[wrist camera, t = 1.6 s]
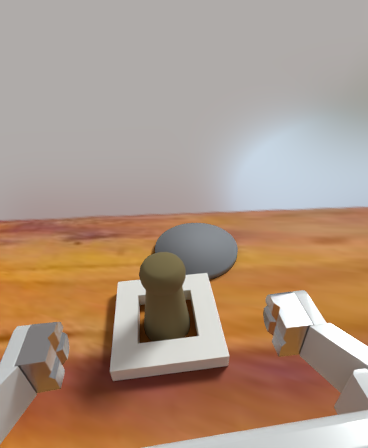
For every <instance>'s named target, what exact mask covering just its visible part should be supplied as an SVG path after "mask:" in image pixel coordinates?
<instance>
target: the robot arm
mask: <svg viewBox="0 0 368 448" xmlns="http://www.w3.org/2000/svg"><path fill="white" fill-rule="evenodd" d="M266 303H267V306H266V307H265V308H264V312H263V316H264V322H265V326H266V328H267V331H268V332H269V333H270V334H272V335H273V339H272V343H273V345H274V347H275V349H276V352H277V354H278V356H279V357H281V356H290V355H298V354H300V356H301V357H302V358H303V359H304V360H305V361H306V362H307V363H308V364H310V365H311V366H312V367H313V368H314V369H315V370H316V371H317V372H318V373H319V374H321V375H322V376H323V377H324V378H325V379H326V380H327V381H328V382H329V383H331V384H332V385H333V386H334V387H335V388H336V389H337V390H338V391H339V392H340V393H341V394H340V396H339V398H338V400H337V402H336V403H335V406H334V408H335V410H336V412H337V414H338V415H334V416H328V417H322V418H316V419H310V420H304V421H298V422H292V423H286V424H280V425H274V426H269V427H263V428H257V429H251V430H245V431H239V432H233V433H227V434H221V435H215V436H209V437H203V438H197V439H191V440H185V441H179V442H173V443H167V444H161V445H155V446H149V447H144V448H368V347H367V346H366V345H364V344H363V343H361V342H360V341H358V340H356V339H355V338H353V337H352V336H350V335H349V334H347V333H345V332H344V331H342V330H341V329H339V328H338V327H336V326H334V325H333V324H331V323H326V321H325V320H324V318H323V317H322V315H321V314H320V312H319V311H318V309H317V308H316V306H315V305H314V303H313V301H312V300H311V298H310V297H309V295H308V294H307V292H306V291H304V290H301V291H294V292H284V293H277V294H270V295H267V297H266ZM62 330H63V326H62V324H61V322H53V323H43V324H34V325H25V326H18V327H17V328H16V329H15V330H14V332H13V334H12V336H11V339H10V341H9V343H8V346H7V348H6V350H5V353H4V355H3V357H2V360H1V362H0V444H1V442H2V441H3V440H4V438H5V437H6V436H7V434H8V433H9V432H10V430H11V429H12V428H13V426H14V425H15V424H16V422H17V421H18V419H19V418H20V417H21V415H22V414H23V413H24V411H25V410H26V409H27V407H28V406H29V405H30V403H31V402H32V401H33V399H34V398H35V396H36V395H37V393H40V392H45V391H51V390H57V389H61V385H62V381H63V377H64V372H65V370H64V368H63V366H62V365H63V364H64V363H65V361H66V360H67V359H68V354H69V341H68V337H67V335H66V334H65V333H63V332H62Z"/></svg>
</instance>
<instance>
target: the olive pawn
mask: <svg viewBox="0 0 368 448" xmlns="http://www.w3.org/2000/svg"><path fill="white" fill-rule="evenodd" d="M139 276H140V281H141V284H142V286H143V287H144V288H145V290H146V296H145V320H144V329H145V333H146V335H147V336H148V338H149V339H150V340H152V341H153V342H154V341H162V340H171V339H179V338H184V337H185V336H186V335H187V334H188V332H189V329H190V318H189V314H188V309H187V305H186V301H185V296H184V292H183V287H182V286H183V283H184V281H185V278H186V269H185V266H184V264H183V262H182V260H181V259H180V258H179V257H178V256H177V255H175V254H173V253H169V252H158V253H154V254H152V255H150V256H148V257H147V258H146V259H145V260H144V262H143V263H142V265H141V267H140V273H139Z"/></svg>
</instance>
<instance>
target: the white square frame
mask: <svg viewBox="0 0 368 448" xmlns="http://www.w3.org/2000/svg"><path fill="white" fill-rule="evenodd" d="M182 287H183V292H184V296H185V300H190V299H191V304H192V310H193V315H194V321H195V326H196V332H197V336H195V337H187V338H179V339H171V340H162V341H154V342H146V343H140V305H145V296H146V290H145V288H144V287H143V286H142V284H141V281H140V280H133V281H123V282H118V289H117V299H116V310H115V321H114V331H113V342H112V353H111V364H110V374H111V377H112V380H113V381H118V380H125V379H133V378H140V377H148V376H155V375H163V374H171V373H178V372H186V371H193V370H201V369H208V368H216V367H223V366H228V363H229V353H228V349H227V345H226V342H225V338H224V334H223V330H222V326H221V323H220V319H219V315H218V311H217V308H216V304H215V300H214V296H213V292H212V289H211V285H210V281H209V277H208V274H207V273H201V274H191V275H186V278H185V281H184V283H183V286H182Z"/></svg>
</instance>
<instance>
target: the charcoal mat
mask: <svg viewBox="0 0 368 448" xmlns="http://www.w3.org/2000/svg"><path fill="white" fill-rule="evenodd" d="M237 250H238V249H237V244H236V242H235V240H234V238H233V237H232V236H231V235H230V234H229V233H228V232H226V231H225V230H223V229H221V228H219V227H217V226H214V225H210V224H204V223H188V224H182V225H178V226H175V227H173V228H171V229H169V230H167V231H166V232H164V233H163V234H162V235H161V236H160V237H159V239H158V240H157V242H156V246H155V253H158V252H169V253H173V254H175V255H177V256H178V257H179V258H180V259H181V260H182V262H183V264H184V266H185V269H186V275H191V274H201V273H207V274H208V277H209V279H212V278H216V277H218V276H220V275H222V274H224V273H226V272H227V271H228V270H229V269H231V268H232V266H233V265H234V263H235V261H236V258H237Z"/></svg>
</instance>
